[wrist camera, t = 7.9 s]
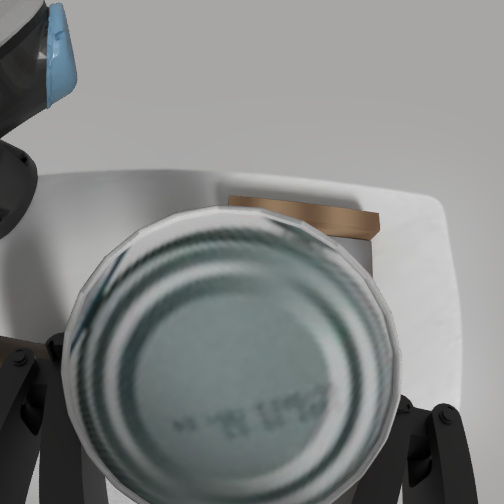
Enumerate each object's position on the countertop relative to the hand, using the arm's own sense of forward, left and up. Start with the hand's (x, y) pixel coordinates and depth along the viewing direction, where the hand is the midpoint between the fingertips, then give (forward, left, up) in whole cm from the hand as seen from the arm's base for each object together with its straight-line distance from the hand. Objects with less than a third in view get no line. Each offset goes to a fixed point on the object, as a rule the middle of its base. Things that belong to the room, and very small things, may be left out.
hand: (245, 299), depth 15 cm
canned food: (0, -3, -4) cm, 5 cm away
